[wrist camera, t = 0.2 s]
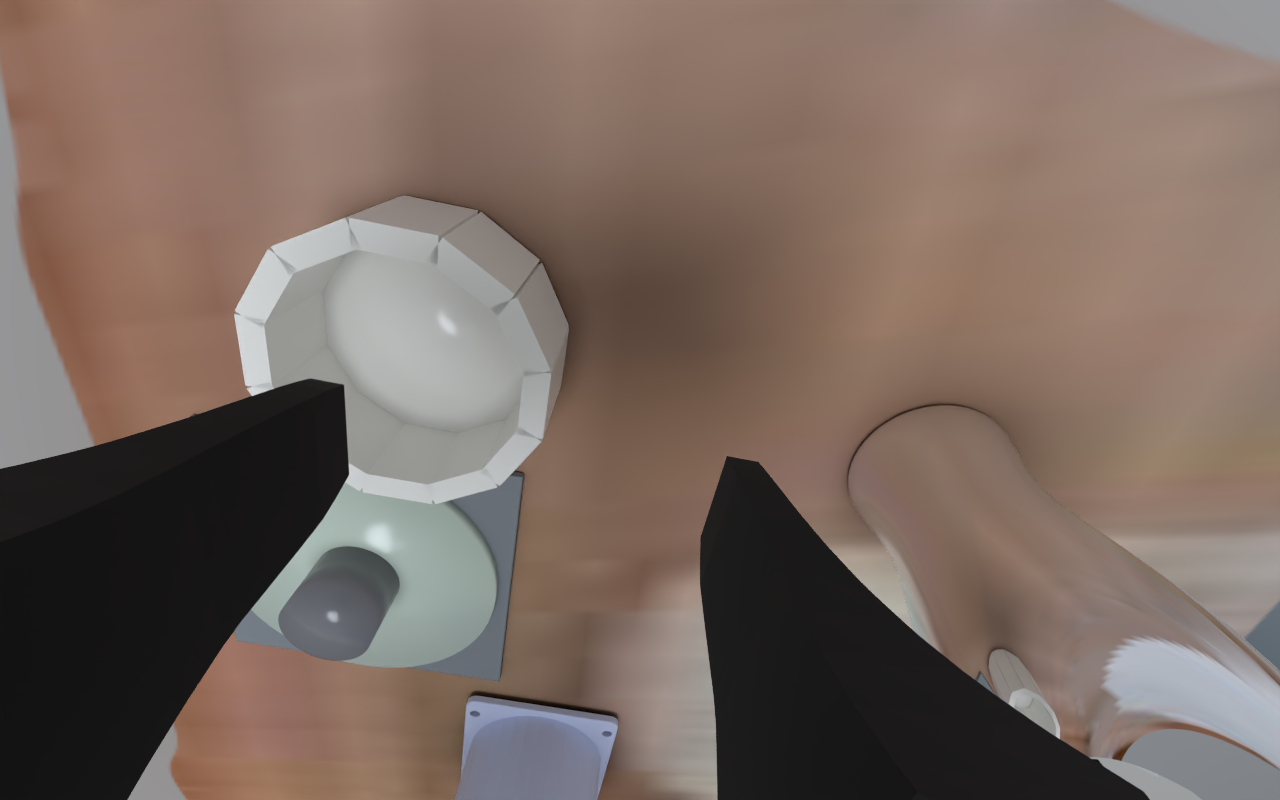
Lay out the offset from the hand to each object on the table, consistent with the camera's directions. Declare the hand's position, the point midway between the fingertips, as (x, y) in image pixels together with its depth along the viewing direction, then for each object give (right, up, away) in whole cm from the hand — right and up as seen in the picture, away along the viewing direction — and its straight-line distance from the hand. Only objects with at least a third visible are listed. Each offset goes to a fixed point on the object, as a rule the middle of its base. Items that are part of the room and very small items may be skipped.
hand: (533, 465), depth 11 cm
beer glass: (+13, -1, +12) cm, 18 cm away
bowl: (-5, +4, +9) cm, 11 cm away
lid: (-10, -6, +15) cm, 19 cm away
